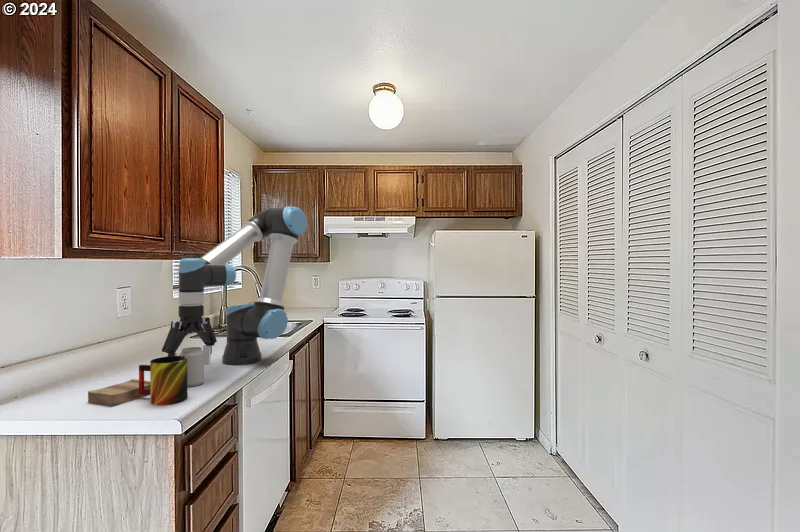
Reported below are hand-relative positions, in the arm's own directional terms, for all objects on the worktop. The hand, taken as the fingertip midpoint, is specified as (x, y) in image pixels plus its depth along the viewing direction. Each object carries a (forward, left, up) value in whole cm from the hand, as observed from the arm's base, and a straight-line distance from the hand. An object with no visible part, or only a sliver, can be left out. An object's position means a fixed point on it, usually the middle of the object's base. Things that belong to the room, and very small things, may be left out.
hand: (190, 369), depth 145 cm
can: (0, 0, -5) cm, 5 cm away
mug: (+16, +5, -5) cm, 17 cm away
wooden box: (+18, -8, -5) cm, 20 cm away
